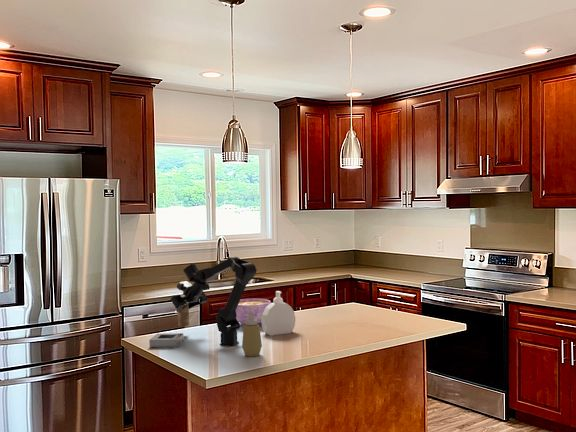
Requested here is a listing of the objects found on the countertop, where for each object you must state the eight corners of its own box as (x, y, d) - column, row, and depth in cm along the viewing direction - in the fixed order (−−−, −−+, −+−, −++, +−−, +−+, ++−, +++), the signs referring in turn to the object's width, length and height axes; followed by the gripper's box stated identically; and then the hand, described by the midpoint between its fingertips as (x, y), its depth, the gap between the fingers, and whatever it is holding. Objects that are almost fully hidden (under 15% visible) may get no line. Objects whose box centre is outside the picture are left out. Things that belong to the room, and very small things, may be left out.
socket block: (183, 341, 266) (183, 333, 266) (176, 347, 254) (176, 339, 254) (157, 341, 267) (157, 333, 267) (149, 347, 255) (149, 339, 255)
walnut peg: (191, 324, 278) (190, 295, 278) (185, 327, 274) (184, 297, 274) (182, 324, 281) (181, 295, 280) (176, 326, 276) (175, 296, 276)
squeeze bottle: (262, 352, 243) (261, 309, 243) (261, 357, 235) (261, 312, 235) (242, 352, 243) (241, 309, 243) (241, 358, 235) (240, 313, 235)
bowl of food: (263, 319, 312) (263, 297, 312) (276, 326, 293) (276, 303, 293) (227, 322, 305) (226, 300, 304) (238, 330, 286) (237, 306, 286)
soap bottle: (266, 336, 271) (265, 293, 271) (261, 334, 276) (260, 292, 275) (296, 332, 279) (295, 290, 278) (290, 330, 284) (290, 289, 283)
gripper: (202, 273, 281) (188, 294, 289) (172, 278, 267) (157, 300, 274) (214, 291, 277) (199, 312, 284) (184, 297, 262) (169, 318, 269)
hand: (181, 310), depth 278 cm, fingers closed on walnut peg, 5 cm apart
